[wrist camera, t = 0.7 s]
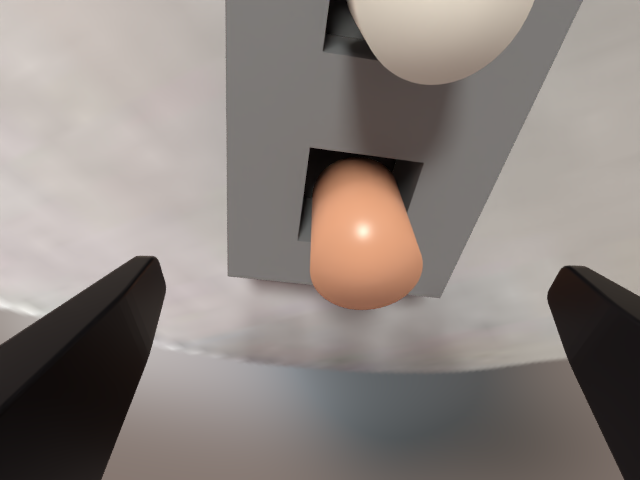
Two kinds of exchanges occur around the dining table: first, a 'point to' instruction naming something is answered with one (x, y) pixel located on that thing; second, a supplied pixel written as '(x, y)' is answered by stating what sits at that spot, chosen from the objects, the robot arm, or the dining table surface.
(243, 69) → the socket board
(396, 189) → the plug terracotta
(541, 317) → the dining table surface
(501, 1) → the plug white mid
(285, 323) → the dining table surface
